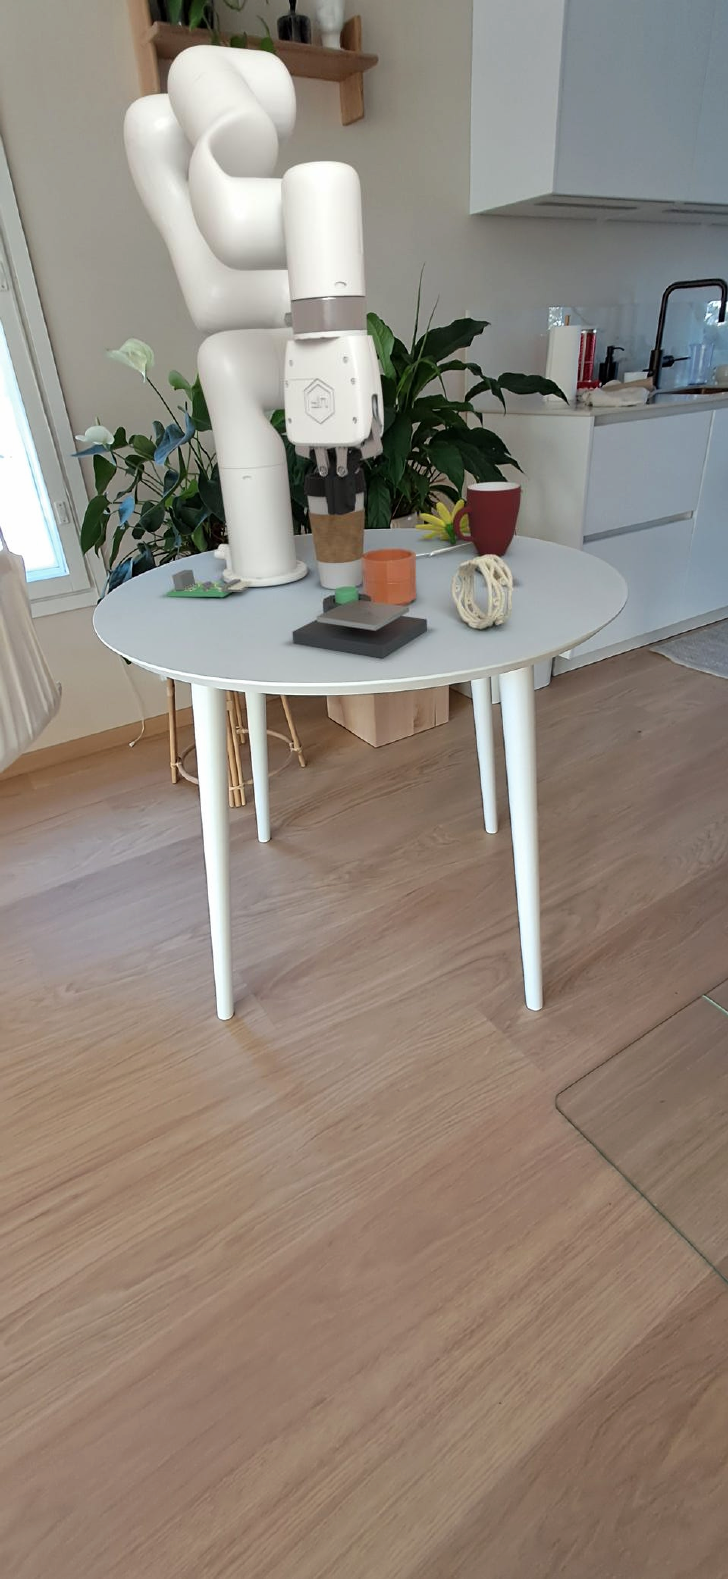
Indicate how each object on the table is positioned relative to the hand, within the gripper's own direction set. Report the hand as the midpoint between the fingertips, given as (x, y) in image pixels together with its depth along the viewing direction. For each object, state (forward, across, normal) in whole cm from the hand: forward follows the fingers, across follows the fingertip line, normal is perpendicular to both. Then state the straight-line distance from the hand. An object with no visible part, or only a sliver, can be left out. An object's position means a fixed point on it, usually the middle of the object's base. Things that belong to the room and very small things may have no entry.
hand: (341, 512), depth 85 cm
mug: (+13, +1, +37) cm, 39 cm away
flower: (+9, -11, +38) cm, 40 cm away
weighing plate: (+10, +5, -5) cm, 12 cm away
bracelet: (+13, +15, +6) cm, 21 cm away
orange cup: (+13, 0, +10) cm, 16 cm away
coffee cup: (+13, -11, +15) cm, 23 cm away
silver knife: (+12, -1, +42) cm, 43 cm away
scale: (+13, +4, -3) cm, 14 cm away
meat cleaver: (+12, +8, +28) cm, 32 cm away
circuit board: (+11, -26, +7) cm, 29 cm away
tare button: (+10, 0, 0) cm, 10 cm away
